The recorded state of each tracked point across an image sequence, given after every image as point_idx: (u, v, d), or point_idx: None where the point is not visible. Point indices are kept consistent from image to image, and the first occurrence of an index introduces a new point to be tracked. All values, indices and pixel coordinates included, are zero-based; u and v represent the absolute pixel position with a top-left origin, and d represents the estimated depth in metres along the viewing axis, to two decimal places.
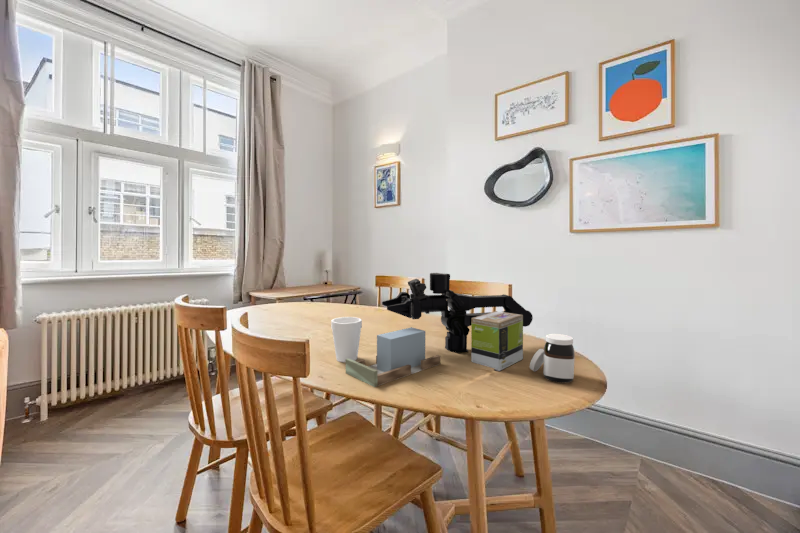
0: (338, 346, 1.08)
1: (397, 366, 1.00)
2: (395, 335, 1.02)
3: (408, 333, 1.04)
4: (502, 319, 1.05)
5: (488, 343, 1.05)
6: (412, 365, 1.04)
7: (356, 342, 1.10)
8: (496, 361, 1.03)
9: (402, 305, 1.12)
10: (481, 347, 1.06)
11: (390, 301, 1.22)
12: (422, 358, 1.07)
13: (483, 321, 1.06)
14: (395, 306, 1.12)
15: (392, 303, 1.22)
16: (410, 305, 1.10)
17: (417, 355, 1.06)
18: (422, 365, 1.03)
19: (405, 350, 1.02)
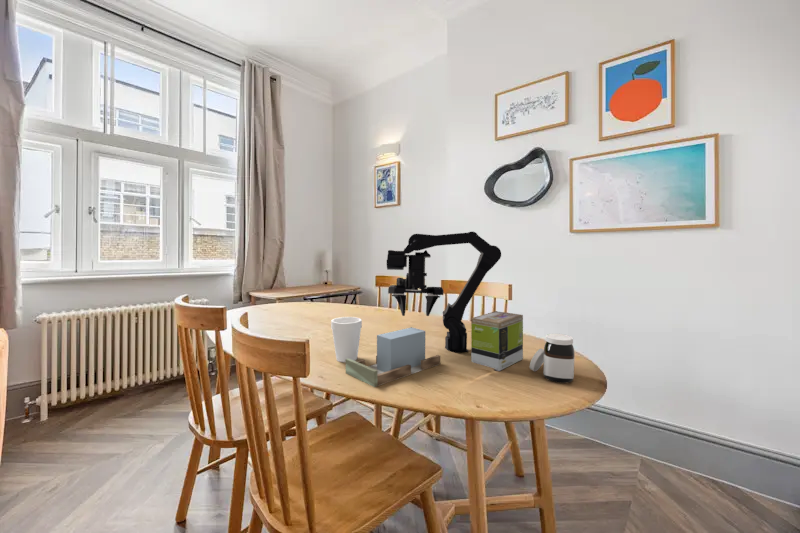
0: (338, 346, 1.08)
1: (397, 366, 1.00)
2: (395, 335, 1.02)
3: (408, 333, 1.04)
4: (501, 319, 1.05)
5: (488, 343, 1.05)
6: (412, 365, 1.04)
7: (356, 342, 1.10)
8: (496, 361, 1.03)
9: (398, 301, 1.20)
10: (481, 347, 1.06)
11: (426, 307, 1.23)
12: (422, 358, 1.07)
13: (483, 321, 1.06)
14: (400, 308, 1.19)
15: (428, 305, 1.23)
16: (393, 295, 1.19)
17: (417, 355, 1.06)
18: (422, 365, 1.03)
19: (405, 350, 1.02)
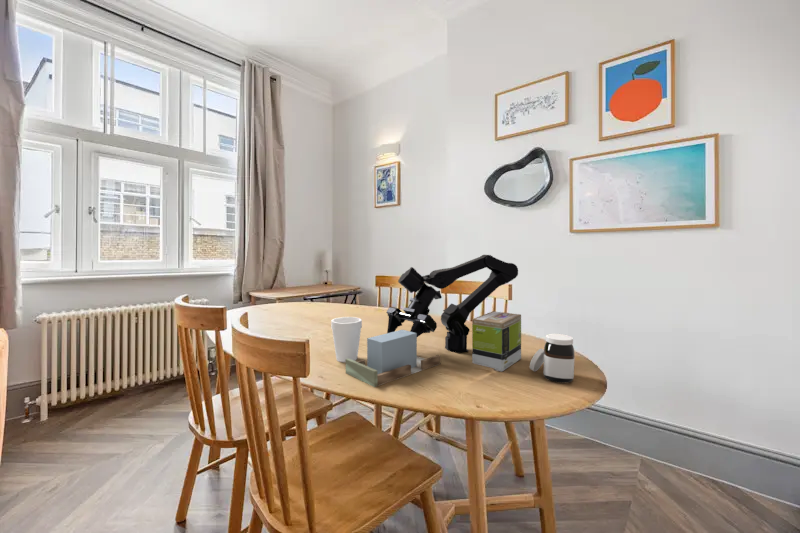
0: (338, 346, 1.08)
1: (388, 370, 0.97)
2: (386, 338, 0.99)
3: (399, 336, 1.01)
4: (503, 319, 1.05)
5: (490, 344, 1.04)
6: None
7: (356, 342, 1.10)
8: (499, 361, 1.03)
9: None
10: (483, 348, 1.06)
11: None
12: (413, 361, 1.05)
13: (485, 322, 1.05)
14: None
15: None
16: None
17: (408, 358, 1.03)
18: (422, 365, 1.03)
19: (397, 354, 0.99)
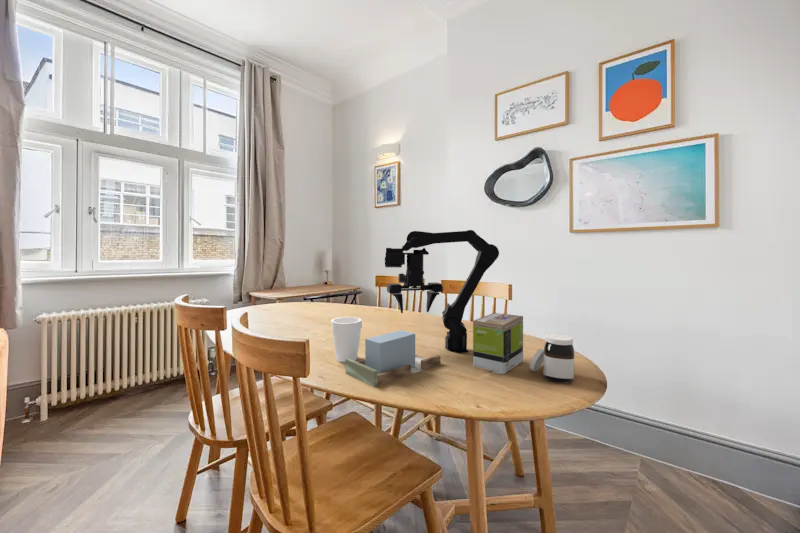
0: (338, 346, 1.08)
1: None
2: (385, 338, 0.99)
3: (398, 336, 1.01)
4: (505, 321, 1.03)
5: (491, 346, 1.02)
6: None
7: (356, 342, 1.10)
8: (500, 364, 1.00)
9: (397, 299, 1.22)
10: (484, 351, 1.03)
11: (427, 303, 1.25)
12: (412, 362, 1.04)
13: (486, 323, 1.02)
14: None
15: (428, 301, 1.24)
16: None
17: (407, 359, 1.02)
18: (422, 365, 1.03)
19: (395, 354, 0.99)
